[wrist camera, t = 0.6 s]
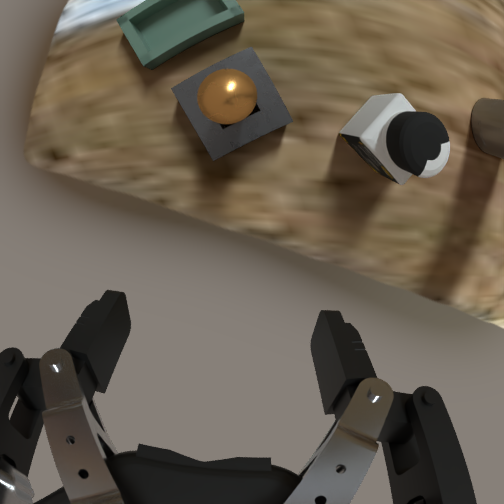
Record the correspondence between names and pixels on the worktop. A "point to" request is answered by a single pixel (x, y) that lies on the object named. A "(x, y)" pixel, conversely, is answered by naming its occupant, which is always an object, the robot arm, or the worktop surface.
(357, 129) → the medicine bottle
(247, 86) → the brass-capped metal pin
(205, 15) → the tray
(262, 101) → the block
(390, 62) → the worktop surface
